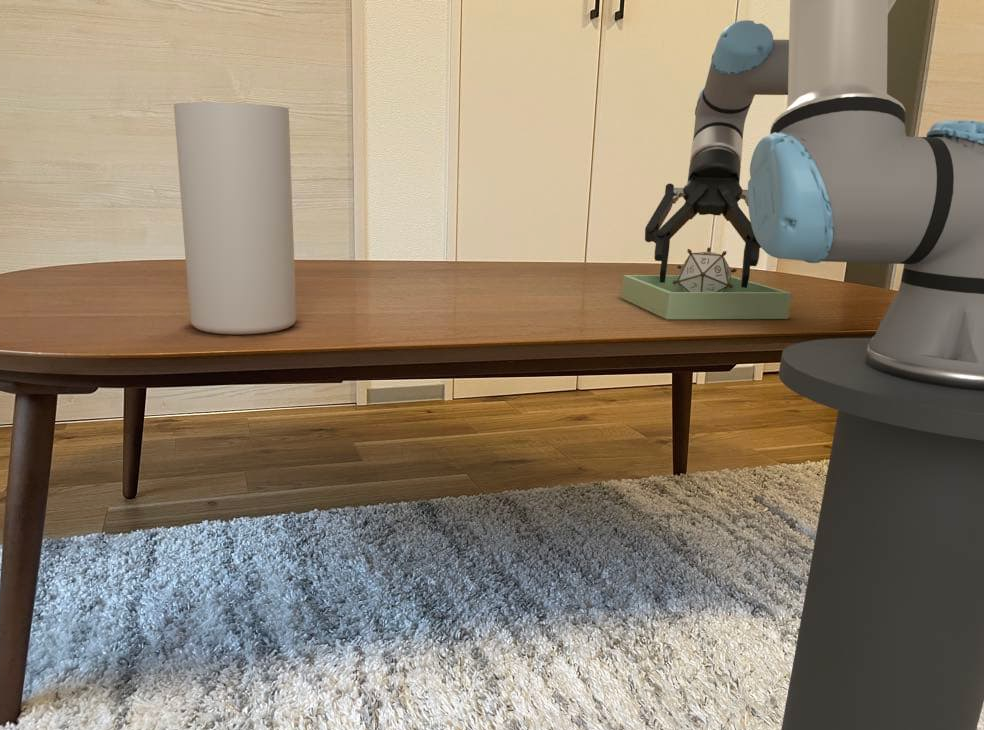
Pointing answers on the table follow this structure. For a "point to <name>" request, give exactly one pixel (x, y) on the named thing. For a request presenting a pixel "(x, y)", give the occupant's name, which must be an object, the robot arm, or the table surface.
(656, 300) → the tray
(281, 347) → the table surface
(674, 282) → the game die
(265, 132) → the cylinder vase
